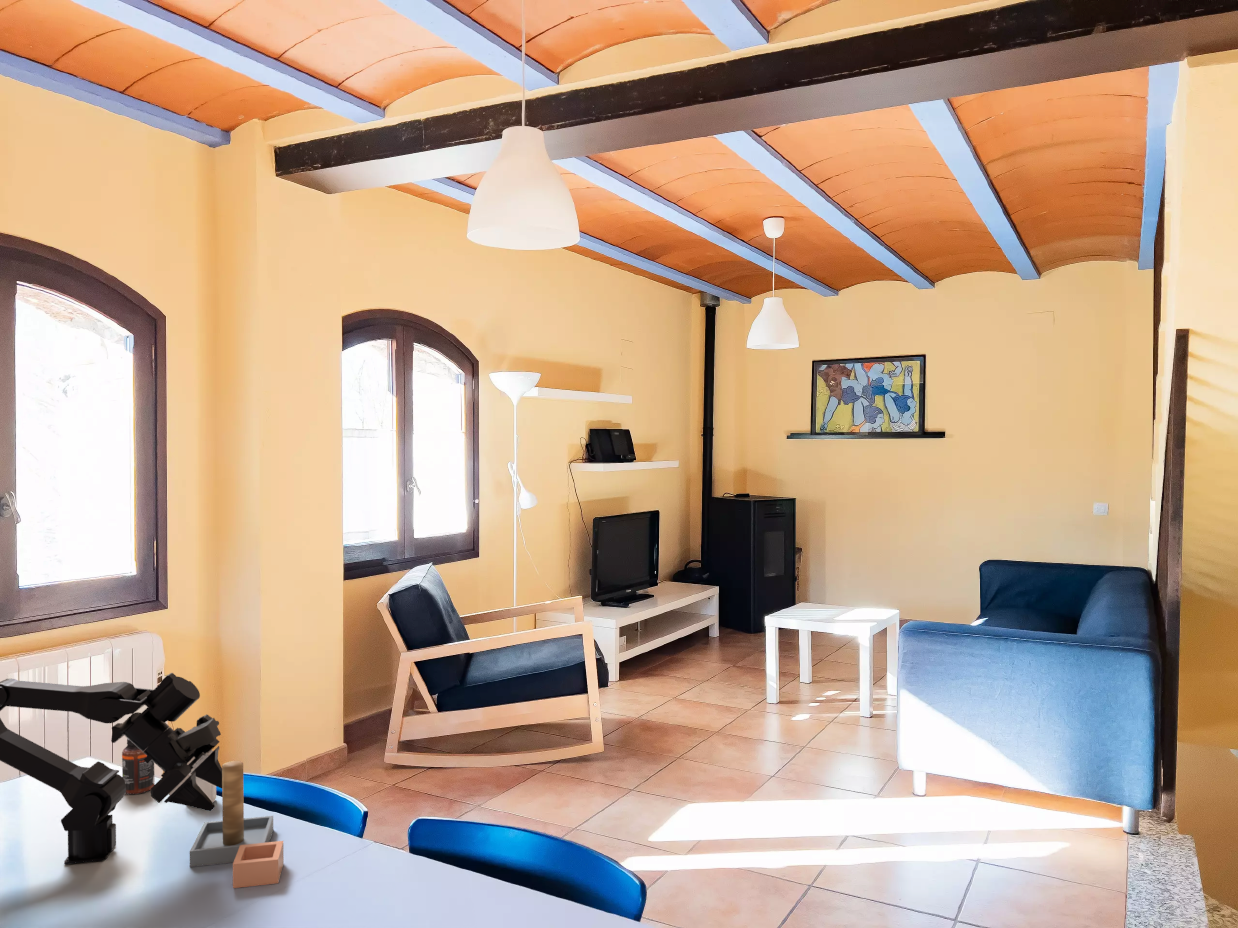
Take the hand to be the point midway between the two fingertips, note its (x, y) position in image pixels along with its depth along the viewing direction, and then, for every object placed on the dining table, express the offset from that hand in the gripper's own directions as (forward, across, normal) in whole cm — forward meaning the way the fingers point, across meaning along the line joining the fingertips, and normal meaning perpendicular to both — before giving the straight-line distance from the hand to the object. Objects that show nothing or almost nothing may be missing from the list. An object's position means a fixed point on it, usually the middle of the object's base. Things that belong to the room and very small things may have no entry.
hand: (221, 798), depth 158 cm
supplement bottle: (-11, +30, +25) cm, 41 cm away
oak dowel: (+7, 0, +4) cm, 8 cm away
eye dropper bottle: (-1, +22, +14) cm, 26 cm away
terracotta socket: (+13, -11, 0) cm, 17 cm away
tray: (+8, 0, +5) cm, 9 cm away
